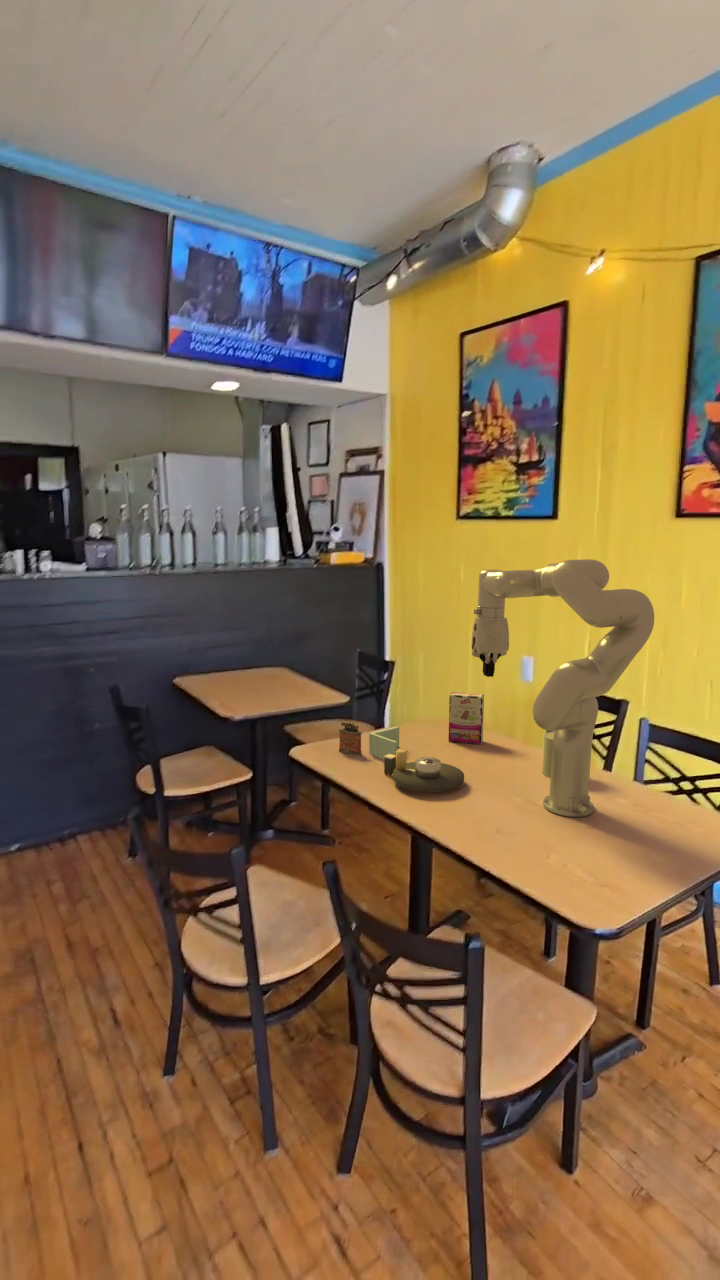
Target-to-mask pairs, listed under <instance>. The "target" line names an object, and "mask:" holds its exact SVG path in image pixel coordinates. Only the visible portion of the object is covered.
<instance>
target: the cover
mask: <svg viewBox="0 0 720 1280" xmlns="http://www.w3.org/2000/svg"><path fill="white" fill-rule="evenodd" d="M414 762H415V776H416V777H418V778H421V779H427V780H432V779H437V778H439V777H440V769H441V763H442V762H441V760H440V759H439V758H435V757H431V756H429V757H428V756H425V757H418V758H416V759H415V761H414Z"/></svg>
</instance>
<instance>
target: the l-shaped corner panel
mask: <svg viewBox="0 0 720 1280" xmlns="http://www.w3.org/2000/svg"><path fill="white" fill-rule="evenodd" d="M368 738H369V739H368V741H369V745H368V746H369V747H368V749H369V750H368V751H369V752H368V753H369V755H370V754H371V755H370V756H372V755H374V756H373V757H375V756H377V757H380V758H382V759H385V758H384V756H386V755H388V754H392V755H396V751H397V750H404V749H402V748H400V726H393V727H390V728H385V729H382V730H381V729H380V730H376V731H373V732H369V737H368ZM397 747H399V748H397ZM406 756H407V753H406ZM377 757H376V758H377ZM380 758H379V759H380ZM382 759H381V760H382Z"/></svg>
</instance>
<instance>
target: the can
mask: <svg viewBox="0 0 720 1280" xmlns="http://www.w3.org/2000/svg"><path fill="white" fill-rule="evenodd" d="M554 734H555V731H549V732H547V733H544V736H543V738H544V740H543V756H542V757H543V758H542V759H543V760H542V770H541V774H542V775H543V776H544V777H547V778H550V779H551V763H552V747H553V738H554Z"/></svg>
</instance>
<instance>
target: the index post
mask: <svg viewBox="0 0 720 1280" xmlns="http://www.w3.org/2000/svg"><path fill="white" fill-rule="evenodd" d="M384 758H385V759H384V760H383V761H384V763H383V766H384V769H383V770H384V772H383V773H385V774H384V775H387V774H389V775H388V776H393V775H392V774H393V770H394V769H395V768H396V755H392V754H388V755H386V756H384Z"/></svg>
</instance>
